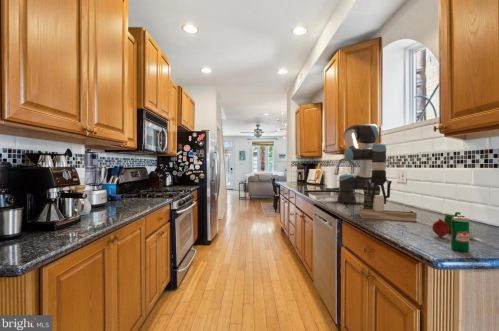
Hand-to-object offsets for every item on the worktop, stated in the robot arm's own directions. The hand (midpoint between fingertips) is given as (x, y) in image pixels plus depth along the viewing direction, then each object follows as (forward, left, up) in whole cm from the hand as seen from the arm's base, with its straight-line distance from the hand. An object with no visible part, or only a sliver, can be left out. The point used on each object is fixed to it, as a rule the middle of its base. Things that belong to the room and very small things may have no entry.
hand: (378, 209), depth 147 cm
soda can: (+53, +19, -5) cm, 56 cm away
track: (0, +4, -5) cm, 7 cm away
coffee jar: (-12, -2, -5) cm, 13 cm away
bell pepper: (+25, +28, -5) cm, 38 cm away
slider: (0, 0, -2) cm, 2 cm away
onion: (+35, +19, -5) cm, 40 cm away
